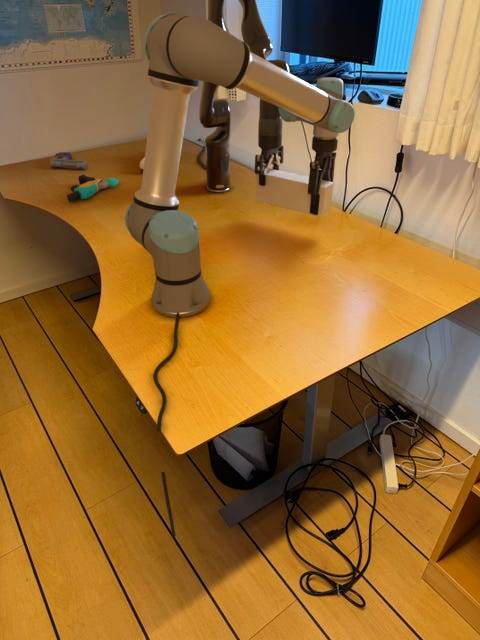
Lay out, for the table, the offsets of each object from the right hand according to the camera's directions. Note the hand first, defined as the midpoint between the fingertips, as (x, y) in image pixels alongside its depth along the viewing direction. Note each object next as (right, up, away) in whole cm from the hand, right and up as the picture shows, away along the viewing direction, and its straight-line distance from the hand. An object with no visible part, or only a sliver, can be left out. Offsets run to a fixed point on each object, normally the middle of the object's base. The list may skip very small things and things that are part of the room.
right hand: (268, 181), depth 160 cm
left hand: (+16, -11, -6) cm, 20 cm away
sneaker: (-47, +25, +58) cm, 79 cm away
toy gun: (-87, +25, +59) cm, 108 cm away
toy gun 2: (-71, +4, +30) cm, 78 cm away
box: (+8, -8, -1) cm, 11 cm away
